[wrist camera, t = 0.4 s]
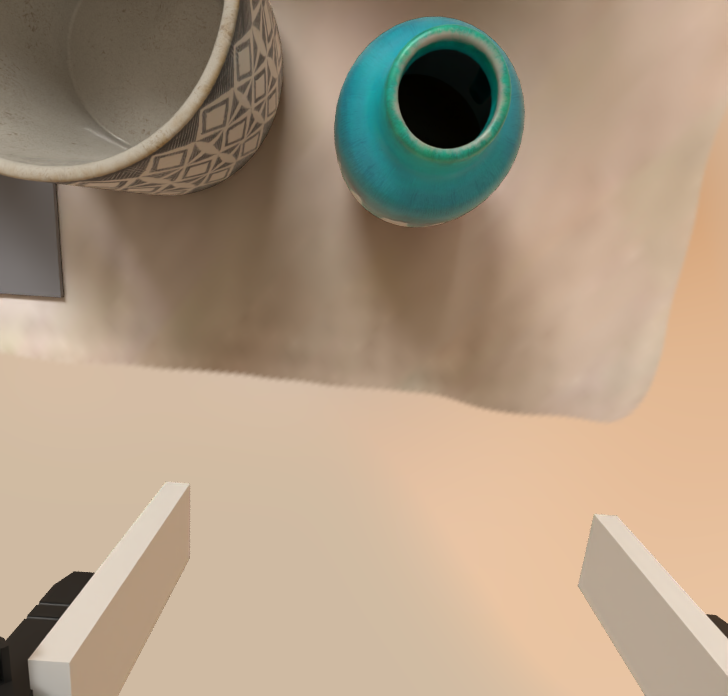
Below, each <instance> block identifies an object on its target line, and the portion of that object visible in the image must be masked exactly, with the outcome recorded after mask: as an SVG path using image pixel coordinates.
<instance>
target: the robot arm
mask: <svg viewBox="0 0 728 696" xmlns="http://www.w3.org/2000/svg"><path fill="white" fill-rule="evenodd" d="M189 558H190V483H178V482H165V484H164V485H163V486H162V487H161V489H160V490H159V491H158V492H157V494H156V495H155V496H154V498H153V499H152V500H151V502H150V503H149V504H148V505H147V507H146V508H145V509H144V511H143V512H142V513H141V514H140V516H139V517H138V518H137V520H136V521H135V522H134V524H133V525H132V526H131V527H130V529H129V530H128V531H127V533H126V534H125V535H124V536H123V538H122V539H121V540H120V542H119V543H118V544H117V546H116V547H115V548H114V549H113V551H112V552H111V553H110V554H109V556H108V557H107V558H106V560H105V561H104V562H103V563H102V565H101V566H100V567H99V569H98V570H97V571H96V573H90V572H73V573H71V574H70V575H68V576H67V577H65V578H64V579H62V580H61V581H59V582H58V583H56V584H55V585H53V587H52V588H51V589H50V590H49V591H48V593H46V595H45V596H44V597H43V598H42V599H41V600H40V602H39V605H36V606H35V607H34V609H33V610H32V611H31V612H30V613H29V614H28V616H27V619H24V620H23V621H22V623H21V624H20V625H19V626H18V627H17V628H16V629H15V631H14V632H13V633H12V634H11V635H10V636H9V638H8V639H7V640H6V641H5V639H4V638H2V637H0V696H118V695H119V693H120V691H121V689H122V687H123V685H124V683H125V682H126V680H127V677H128V676H129V674H130V671H131V670H132V668H133V666H134V664H135V662H136V660H137V658H138V656H139V655H140V653H141V651H142V649H143V647H144V645H145V643H146V641H147V639H148V637H149V635H150V634H151V632H152V630H153V628H154V626H155V624H156V622H157V620H158V618H159V616H160V614H161V612H162V610H163V609H164V606H165V605H166V603H167V601H168V599H169V597H170V595H171V593H172V591H173V589H174V587H175V585H176V584H177V582H178V580H179V578H180V576H181V574H182V572H183V570H184V568H185V566H186V564H187V562H188V560H189ZM578 587H579V589H580V590H581V592H582V593H583V595H584V596H585V598H586V600H587V602H588V603H589V605H590V607H591V608H592V610H593V611H594V613H595V615H596V616H597V618H598V620H599V621H600V623H601V625H602V626H603V628H604V629H605V631H606V633H607V634H608V636H609V638H610V639H611V641H612V643H613V644H614V646H615V647H616V649H617V651H618V652H619V654H620V656H621V657H622V659H623V660H624V662H625V664H626V665H627V667H628V669H629V670H630V672H631V673H632V675H633V677H634V678H635V680H636V682H637V683H638V685H639V687H640V688H641V690H642V692H643V693H644V695H645V696H728V624H727V623H726V622H725V621H723V620H722V619H720V618H719V617H718V616H716V615H708V614H705V613H704V612H703V611H702V610H701V609H700V607H699V606H698V605H697V604H696V603H695V602H694V601H693V600H692V599H691V597H690V596H689V595H688V594H687V593H686V592H685V591H684V590H683V589H682V587H681V586H680V585H679V584H678V583H677V582H676V581H675V580H674V579H673V577H672V576H671V575H670V574H669V573H668V572H667V571H666V570H665V569H664V567H663V566H662V565H661V564H660V563H659V562H658V561H657V560H656V558H655V557H654V556H653V555H652V554H651V553H650V552H649V551H648V550H647V549H646V547H644V545H643V544H642V543H641V542H640V541H639V540H638V538H637V537H636V536H635V535H634V534H633V533H632V532H631V531H630V530H629V529H628V528H627V526H626V525H625V524H624V523H623V522H622V521H621V520H620V519H619V517H618V516H615V515H600V514H594V516H593V521H592V525H591V530H590V534H589V539H588V543H587V548H586V552H585V557H584V561H583V566H582V570H581V575H580V579H579V584H578Z"/></svg>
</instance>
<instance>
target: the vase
mask: <svg viewBox="0 0 728 696" xmlns="http://www.w3.org/2000/svg"><path fill="white" fill-rule="evenodd" d="M524 114H525V111H524V100H523V93H522V89H521V85H520V81H519V79H518V76H517V74H516V71H515V69H514V67H513V65H512V63H511V62H510V60H509V58H508V57H507V55H506V53H505V52H504V51H503V50H502V49H501V48H500V46H499V45H498V44H497V43H496V42H495V41H494V40H493V39H492V38H490V37H489V36H488V35H487V34H486V33H484V32H483V31H481V30H480V29H478V28H476V27H474V26H473V25H471V24H468V23H466V22H463V21H460V20H457V19H452V18H446V17H422V18H417V19H412V20H409V21H406V22H403V23H401V24H398V25H396V26H394V27H392V28H391V29H389V30H387V31H386V32H384V33H382V34H381V35H380V36H378V37H377V38H376V39H375V40H374V41H372V42H371V43H370V44H369V45H368V46H367V47H366V48H365V50H364V51H363V52H362V53H361V54H360V55H359V56H358V58H357V60H356V61H355V63H354V64H353V66H352V67H351V69H350V71H349V72H348V75H347V77H346V79H345V81H344V84H343V86H342V89H341V92H340V95H339V99H338V103H337V107H336V115H335V123H334V137H335V149H336V154H337V160H338V164H339V167H340V170H341V173H342V176H343V178H344V180H345V182H346V184H347V186H348V188H349V190H350V191H351V193H352V194H353V195H354V197H355V198H356V200H357V201H358V202H359V203H360V204H361V205H362V206H363V207H364V208H365V209H366V210H368V211H369V212H370V213H372V214H373V215H375V216H376V217H378V218H380V219H382V220H384V221H386V222H389V223H392V224H395V225H398V226H405V227H427V226H433V225H438V224H442V223H445V222H448V221H451V220H454V219H456V218H458V217H460V216H462V215H464V214H466V213H468V212H470V211H471V210H473V209H474V208H475V207H477V206H478V205H479V204H481V203H482V202H483V201H485V200H486V199H487V198H488V197H489V196H490V195H491V194H492V193H493V192H494V191H495V190H496V189H497V187H498V186H499V185H500V183H501V182H502V181H503V179H504V178H505V176H506V175H507V174H508V172H509V170H510V168H511V166H512V164H513V162H514V161H515V158H516V155H517V153H518V150H519V147H520V144H521V139H522V134H523V129H524Z"/></svg>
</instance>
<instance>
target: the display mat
mask: <svg viewBox="0 0 728 696" xmlns="http://www.w3.org/2000/svg"><path fill="white" fill-rule="evenodd" d="M0 293H4V294H18V295H32V296H46V297H64V296H63V282H62V267H61V253H60V238H59V224H58V209H57V195H56V183H48V182H39V181H31V180H23V179H18V178H13V177H8V176H4V175H1V174H0Z"/></svg>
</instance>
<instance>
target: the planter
mask: <svg viewBox="0 0 728 696" xmlns="http://www.w3.org/2000/svg"><path fill="white" fill-rule="evenodd" d="M282 76H283V61H282V49H281V42H280V37H279V32H278V28H277V24H276V21H275V18H274V14H273V11H272V8H271V5H270V2H269V0H0V174H1V175H4V176H8V177H13V178H18V179H23V180H31V181H39V182H48V183H57V184H65V185H74V186H82V187H91V188H100V189H108V190H117V191H125V192H134V193H143V194H151V195H165V196H169V195H182V194H188V193H193V192H197V191H200V190H204V189H206V188H209V187H211V186H214V185H216V184H218V183H220V182H221V181H223V180H225V179H226V178H228V177H230V176H231V175H232V174H234V173H235V172H236V171H238V170H239V169H240V168H241V167H242V166H243V165H244V164H245V163H246V162H247V161H248V160H249V159H250V158H251V157H252V156H253V154H254V153H255V152H256V151H257V149H258V148H259V146H260V145H261V143H262V142H263V140H264V138H265V137H266V135H267V133H268V131H269V129H270V127H271V125H272V122H273V120H274V117H275V114H276V111H277V107H278V104H279V99H280V94H281V87H282Z"/></svg>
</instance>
